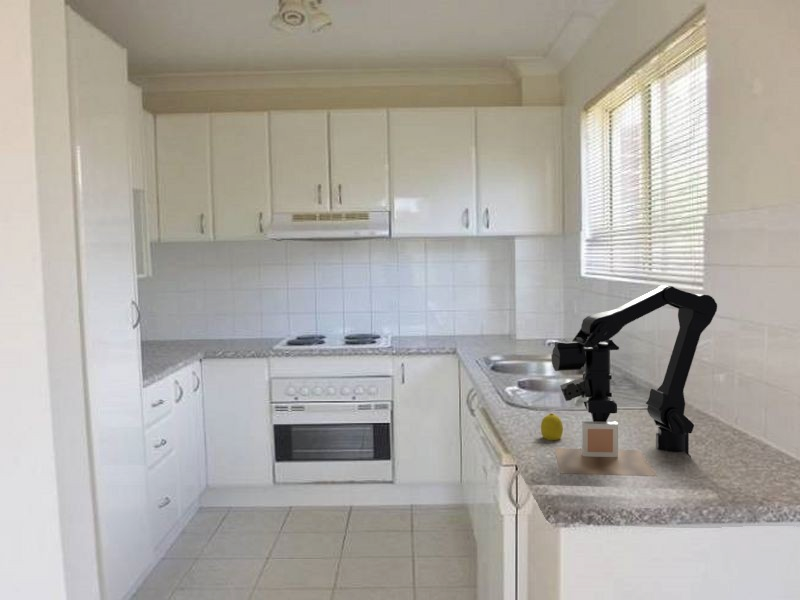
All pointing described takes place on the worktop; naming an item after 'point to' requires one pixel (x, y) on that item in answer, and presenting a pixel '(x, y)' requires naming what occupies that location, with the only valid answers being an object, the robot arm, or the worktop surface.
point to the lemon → (551, 427)
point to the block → (599, 439)
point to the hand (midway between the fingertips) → (598, 434)
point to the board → (603, 463)
